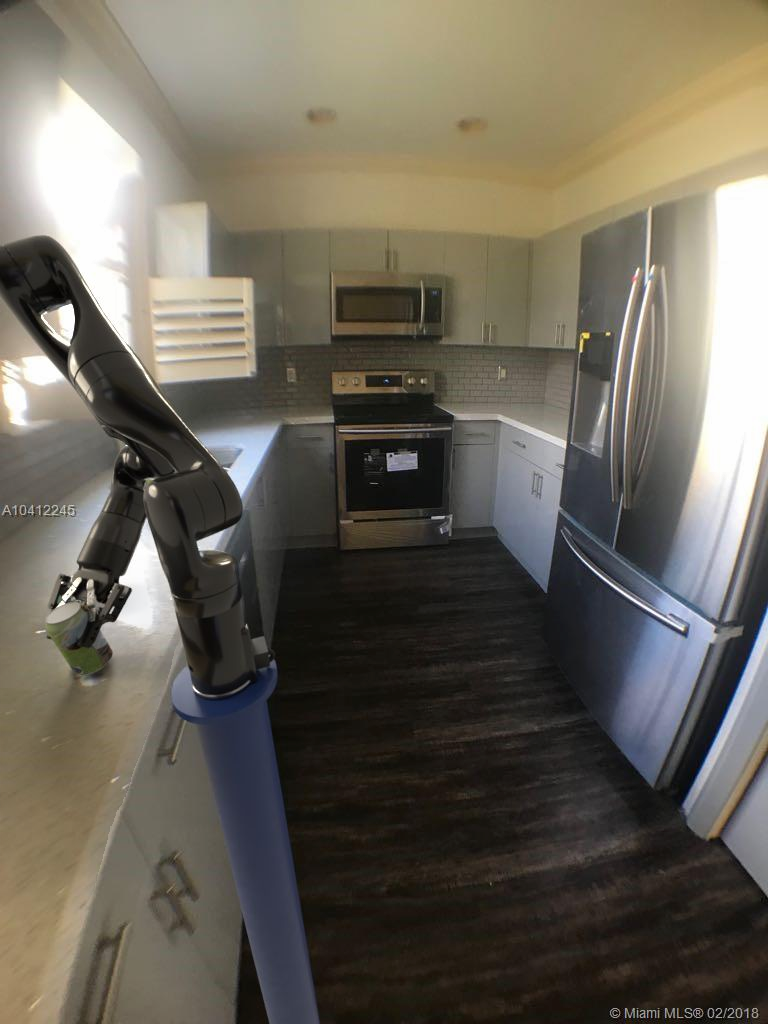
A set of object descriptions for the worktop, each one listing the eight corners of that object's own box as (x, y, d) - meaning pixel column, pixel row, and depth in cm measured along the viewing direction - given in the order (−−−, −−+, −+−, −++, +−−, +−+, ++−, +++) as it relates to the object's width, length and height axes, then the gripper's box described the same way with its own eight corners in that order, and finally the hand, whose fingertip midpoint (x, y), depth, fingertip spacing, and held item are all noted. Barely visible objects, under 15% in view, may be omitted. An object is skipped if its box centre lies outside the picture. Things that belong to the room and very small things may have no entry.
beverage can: (122, 661, 78) (103, 602, 73) (75, 689, 72) (52, 626, 67) (103, 649, 81) (83, 591, 76) (57, 674, 75) (33, 613, 71)
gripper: (61, 531, 77) (13, 631, 71) (128, 541, 73) (83, 648, 67) (96, 546, 84) (55, 639, 78) (159, 555, 80) (121, 654, 74)
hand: (68, 642), depth 73 cm, fingers closed on beverage can, 6 cm apart
